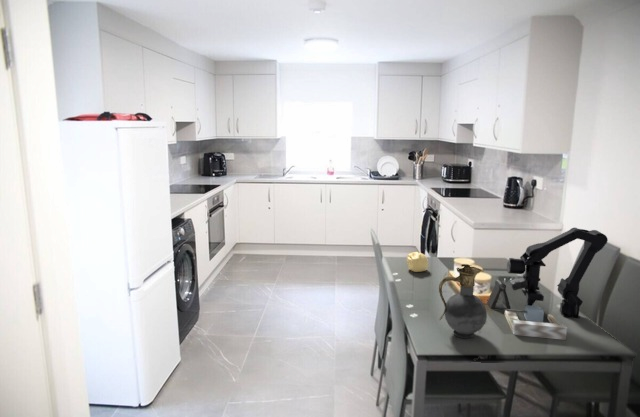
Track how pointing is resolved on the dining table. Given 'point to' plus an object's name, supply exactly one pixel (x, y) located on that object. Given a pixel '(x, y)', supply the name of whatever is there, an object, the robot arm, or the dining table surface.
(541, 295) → the robot arm
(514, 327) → the beige grey patterned tray
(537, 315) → the pale blue mallet
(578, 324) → the dining table surface
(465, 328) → the pitcher
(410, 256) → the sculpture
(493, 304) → the phone stand
